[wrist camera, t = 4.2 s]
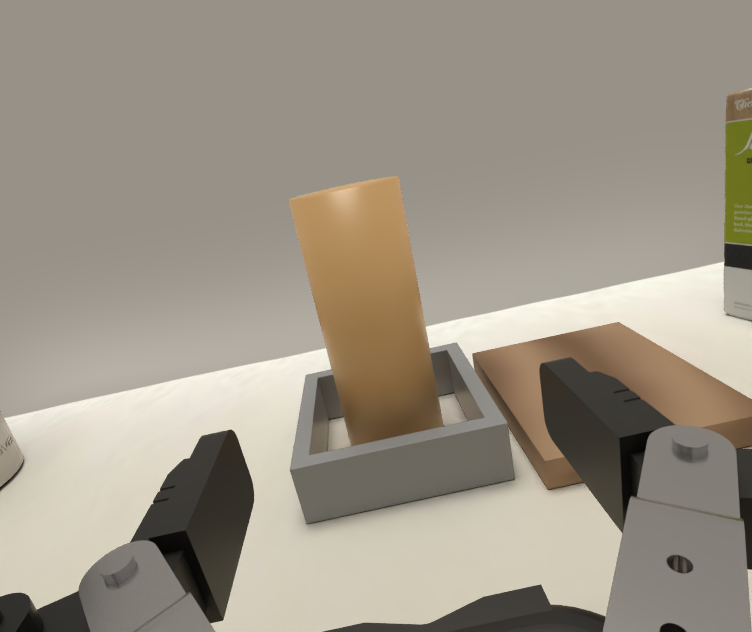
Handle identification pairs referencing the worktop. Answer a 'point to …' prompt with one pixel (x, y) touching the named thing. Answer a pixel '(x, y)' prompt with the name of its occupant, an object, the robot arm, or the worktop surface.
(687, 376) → the pad
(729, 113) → the tea box
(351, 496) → the bin
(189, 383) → the worktop surface
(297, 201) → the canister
